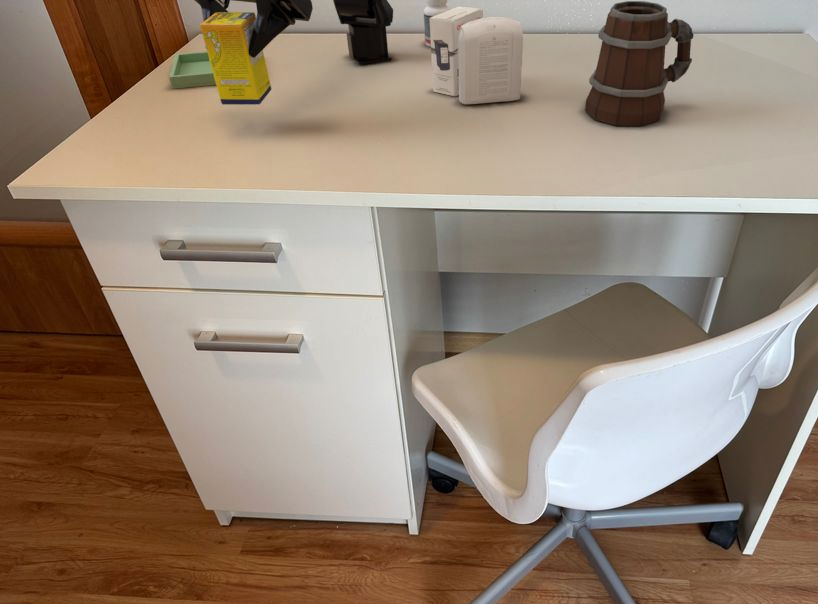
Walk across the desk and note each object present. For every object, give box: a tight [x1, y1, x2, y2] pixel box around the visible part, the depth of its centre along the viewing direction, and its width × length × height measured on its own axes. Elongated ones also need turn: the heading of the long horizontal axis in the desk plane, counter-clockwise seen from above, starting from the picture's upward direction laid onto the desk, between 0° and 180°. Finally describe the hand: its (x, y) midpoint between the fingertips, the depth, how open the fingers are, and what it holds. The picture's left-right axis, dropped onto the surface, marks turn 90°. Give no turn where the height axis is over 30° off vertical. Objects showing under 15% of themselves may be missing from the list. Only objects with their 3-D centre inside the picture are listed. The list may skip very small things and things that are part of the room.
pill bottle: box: [423, 0, 451, 48], centre depth 130 cm, size 5×5×9 cm
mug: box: [584, 0, 694, 127], centre depth 100 cm, size 16×12×15 cm
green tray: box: [168, 50, 217, 90], centre depth 121 cm, size 13×13×2 cm
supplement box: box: [199, 11, 272, 106], centre depth 95 cm, size 6×6×11 cm
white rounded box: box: [458, 16, 524, 105], centre depth 105 cm, size 10×4×12 cm, turn 103°
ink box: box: [430, 5, 484, 97], centre depth 110 cm, size 8×5×12 cm, turn 146°
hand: (229, 53), depth 93 cm, fingers closed on supplement box, 7 cm apart
